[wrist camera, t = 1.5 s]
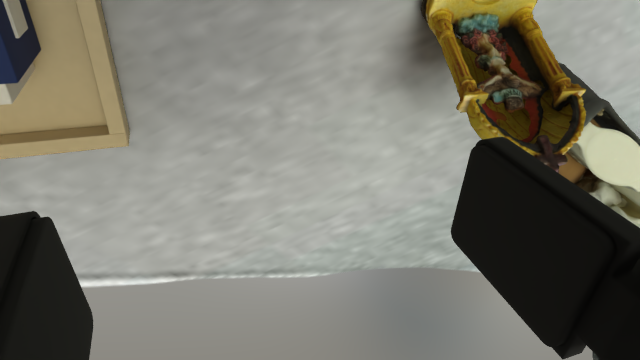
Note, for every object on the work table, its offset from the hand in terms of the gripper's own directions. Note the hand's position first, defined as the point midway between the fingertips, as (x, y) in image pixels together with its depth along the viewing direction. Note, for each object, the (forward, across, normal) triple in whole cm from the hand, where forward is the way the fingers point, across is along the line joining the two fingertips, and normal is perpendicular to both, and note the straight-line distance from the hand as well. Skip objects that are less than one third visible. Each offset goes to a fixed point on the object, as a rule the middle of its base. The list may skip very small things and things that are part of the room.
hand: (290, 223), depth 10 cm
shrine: (+22, -19, +2) cm, 30 cm away
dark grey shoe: (+22, -37, +15) cm, 46 cm away
